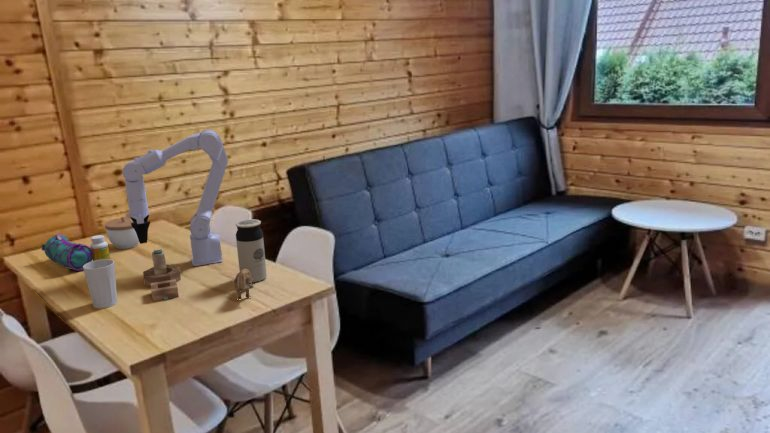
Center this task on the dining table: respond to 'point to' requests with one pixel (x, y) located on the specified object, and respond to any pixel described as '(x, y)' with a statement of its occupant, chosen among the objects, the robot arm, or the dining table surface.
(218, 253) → the robot arm
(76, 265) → the pencil case
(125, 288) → the dining table surface
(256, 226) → the travel mug
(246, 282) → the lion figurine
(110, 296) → the cup
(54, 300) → the dining table surface
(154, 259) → the brown and teal block
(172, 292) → the threaded bead
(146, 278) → the brown faceted ring
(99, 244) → the supplement bottle
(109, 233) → the lidded bowl
